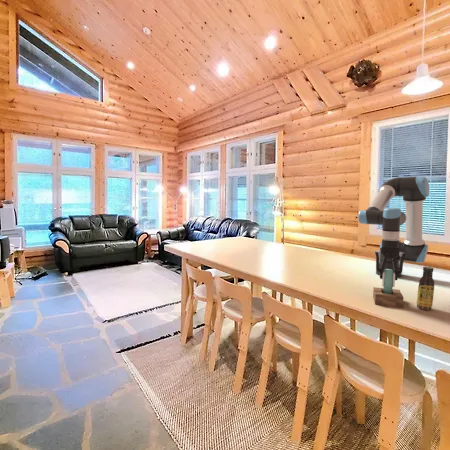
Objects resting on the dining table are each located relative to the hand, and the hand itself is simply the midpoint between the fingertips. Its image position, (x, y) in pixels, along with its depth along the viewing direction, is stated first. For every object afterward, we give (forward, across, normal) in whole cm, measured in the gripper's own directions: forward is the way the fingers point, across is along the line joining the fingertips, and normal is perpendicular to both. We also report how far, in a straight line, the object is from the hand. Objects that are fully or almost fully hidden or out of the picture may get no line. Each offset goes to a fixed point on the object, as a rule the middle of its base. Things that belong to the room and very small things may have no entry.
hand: (388, 285), depth 152 cm
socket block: (+8, 0, 0) cm, 8 cm away
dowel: (+4, 0, 0) cm, 4 cm away
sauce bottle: (+9, +15, -4) cm, 18 cm away
